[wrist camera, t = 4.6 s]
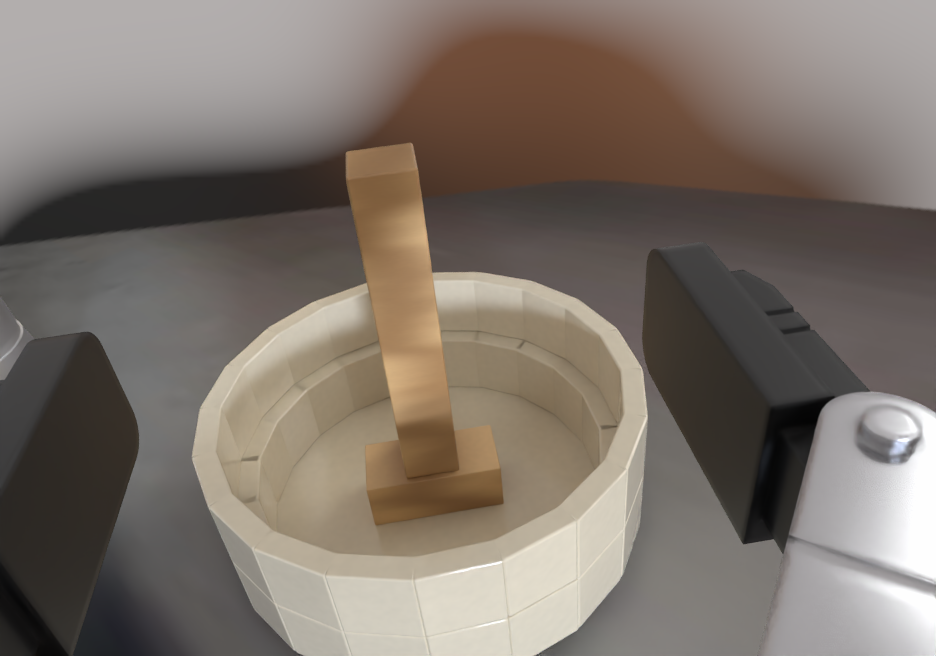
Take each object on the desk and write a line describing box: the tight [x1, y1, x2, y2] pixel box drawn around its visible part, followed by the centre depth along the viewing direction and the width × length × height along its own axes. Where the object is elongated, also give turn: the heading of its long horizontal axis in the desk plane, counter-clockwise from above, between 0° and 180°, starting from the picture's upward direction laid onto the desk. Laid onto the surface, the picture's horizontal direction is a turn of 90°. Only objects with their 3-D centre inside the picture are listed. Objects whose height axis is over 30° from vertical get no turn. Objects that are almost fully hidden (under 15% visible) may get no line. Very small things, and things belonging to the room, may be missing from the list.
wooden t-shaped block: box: [346, 143, 504, 525], centre depth 25 cm, size 5×2×14 cm, turn 98°
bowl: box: [192, 272, 648, 656], centre depth 28 cm, size 16×16×6 cm
